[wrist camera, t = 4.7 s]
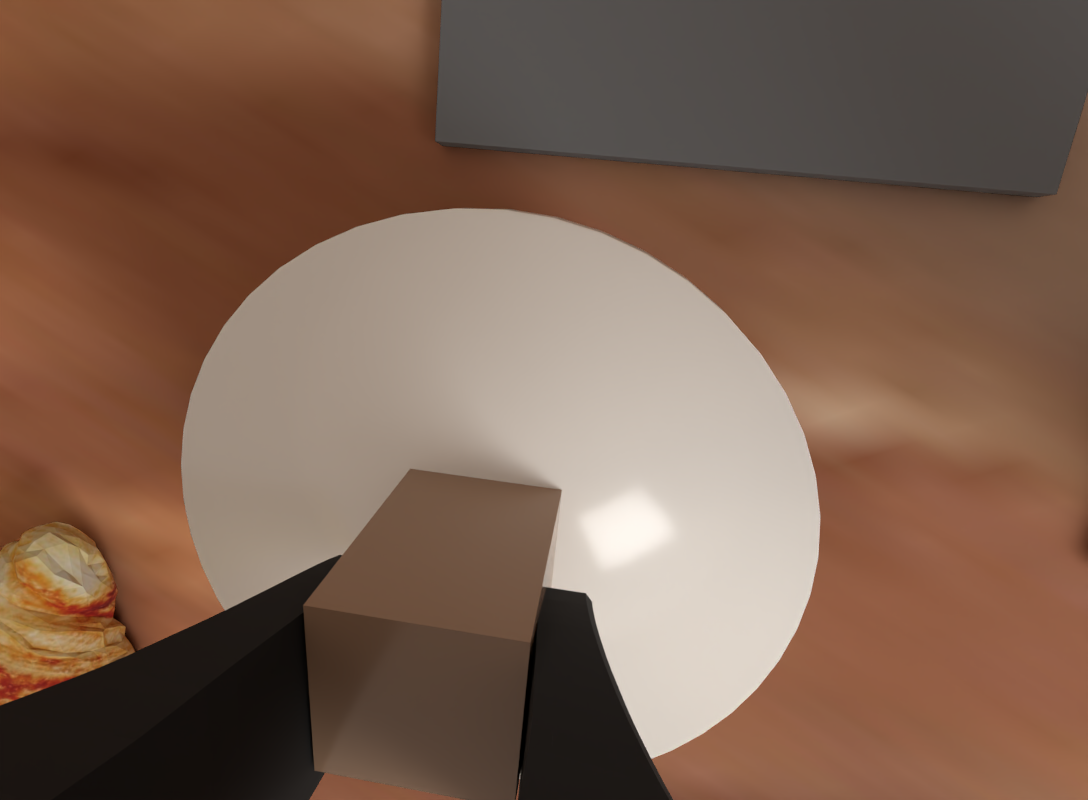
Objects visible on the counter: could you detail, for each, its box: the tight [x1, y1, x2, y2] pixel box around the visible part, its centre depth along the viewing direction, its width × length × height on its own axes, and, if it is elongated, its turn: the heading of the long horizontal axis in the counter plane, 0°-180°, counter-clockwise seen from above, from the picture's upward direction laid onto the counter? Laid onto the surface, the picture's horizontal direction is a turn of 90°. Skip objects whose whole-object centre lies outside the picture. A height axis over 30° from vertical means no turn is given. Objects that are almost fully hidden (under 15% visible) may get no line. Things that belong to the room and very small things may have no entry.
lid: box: [181, 208, 820, 800], centre depth 9 cm, size 11×11×4 cm
